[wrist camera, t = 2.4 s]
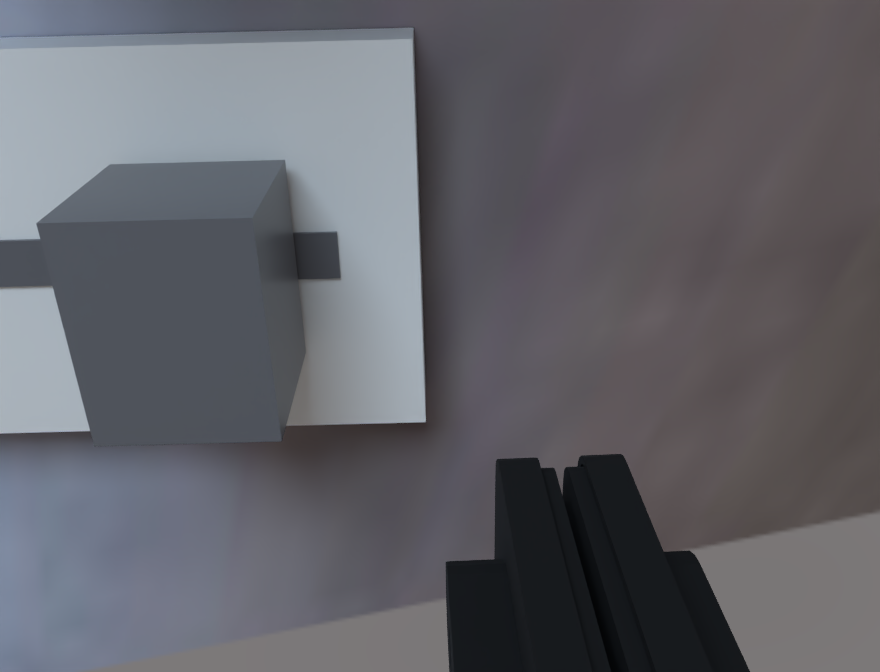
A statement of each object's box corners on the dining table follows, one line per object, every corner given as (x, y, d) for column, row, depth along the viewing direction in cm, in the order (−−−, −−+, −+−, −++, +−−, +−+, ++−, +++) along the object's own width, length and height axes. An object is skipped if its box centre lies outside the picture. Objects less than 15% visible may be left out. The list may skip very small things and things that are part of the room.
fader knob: (285, 160, 19) (252, 217, 15) (305, 352, 21) (281, 441, 18) (109, 164, 19) (36, 223, 15) (150, 355, 21) (94, 446, 18)
